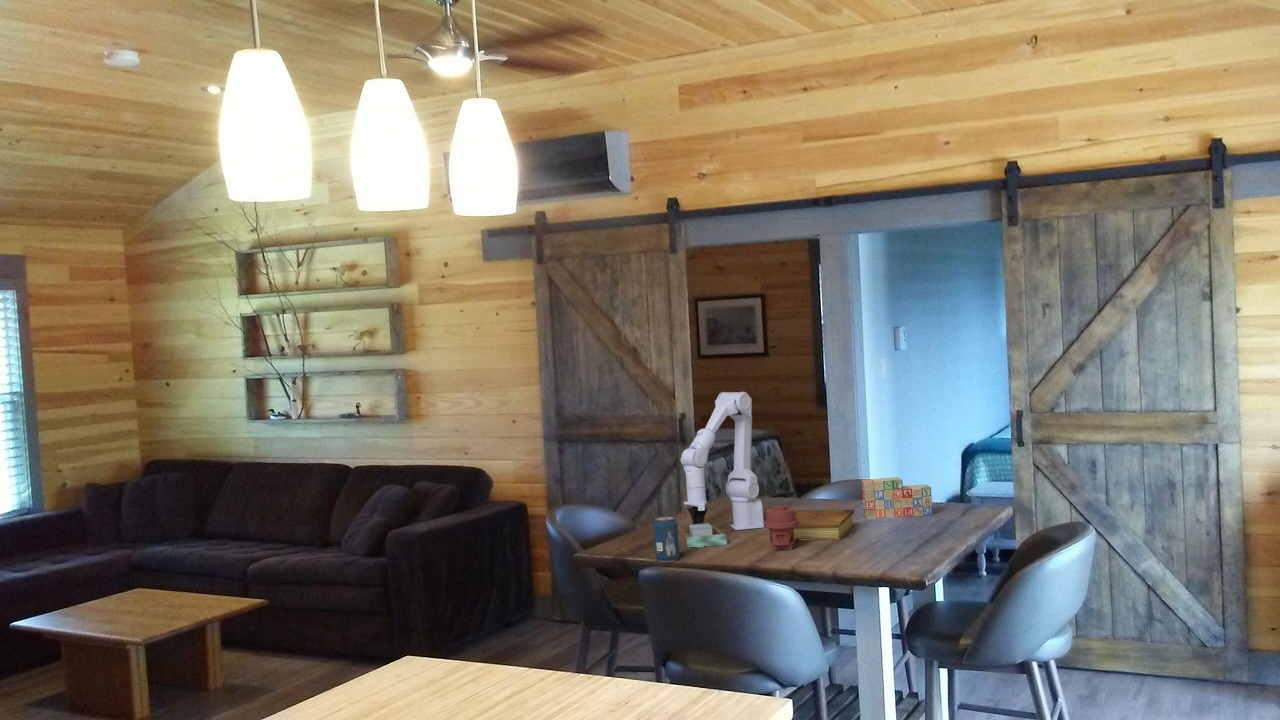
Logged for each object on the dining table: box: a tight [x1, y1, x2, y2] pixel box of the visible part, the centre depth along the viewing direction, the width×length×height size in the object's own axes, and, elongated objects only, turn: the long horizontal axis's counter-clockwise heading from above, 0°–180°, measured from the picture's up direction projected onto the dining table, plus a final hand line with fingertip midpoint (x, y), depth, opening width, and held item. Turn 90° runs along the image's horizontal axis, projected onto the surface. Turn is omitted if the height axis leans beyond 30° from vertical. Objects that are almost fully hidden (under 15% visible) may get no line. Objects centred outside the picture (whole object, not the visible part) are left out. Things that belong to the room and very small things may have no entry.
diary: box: [794, 509, 856, 541], centre depth 348 cm, size 23×19×6 cm
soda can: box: [652, 515, 680, 563], centre depth 322 cm, size 7×7×12 cm
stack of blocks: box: [861, 476, 934, 520], centre depth 368 cm, size 21×6×12 cm, turn 86°
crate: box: [688, 523, 712, 537], centre depth 346 cm, size 6×6×5 cm
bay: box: [677, 519, 728, 549], centre depth 352 cm, size 12×28×3 cm, turn 8°
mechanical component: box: [763, 504, 799, 550], centre depth 327 cm, size 12×10×10 cm
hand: (698, 530), depth 350 cm, fingers closed
